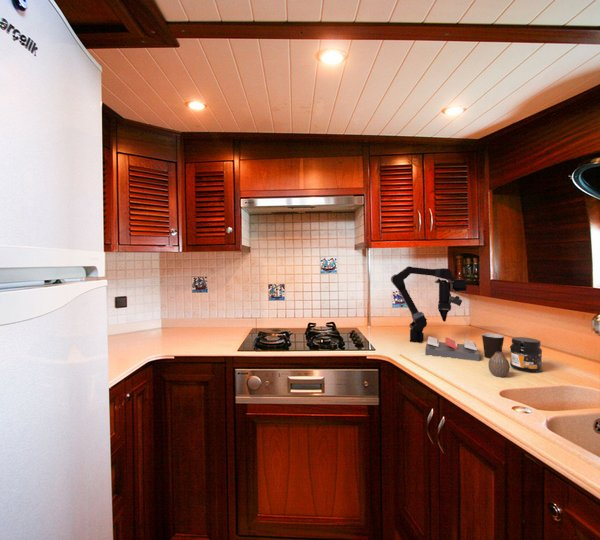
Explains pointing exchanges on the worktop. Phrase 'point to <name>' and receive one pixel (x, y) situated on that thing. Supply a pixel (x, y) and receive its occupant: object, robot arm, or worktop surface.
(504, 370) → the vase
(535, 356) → the supplement container
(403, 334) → the worktop surface
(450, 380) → the worktop surface
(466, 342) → the rocker right
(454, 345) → the rocker red
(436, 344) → the plate
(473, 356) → the rocker switch panel
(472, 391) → the worktop surface
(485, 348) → the coffee mug
